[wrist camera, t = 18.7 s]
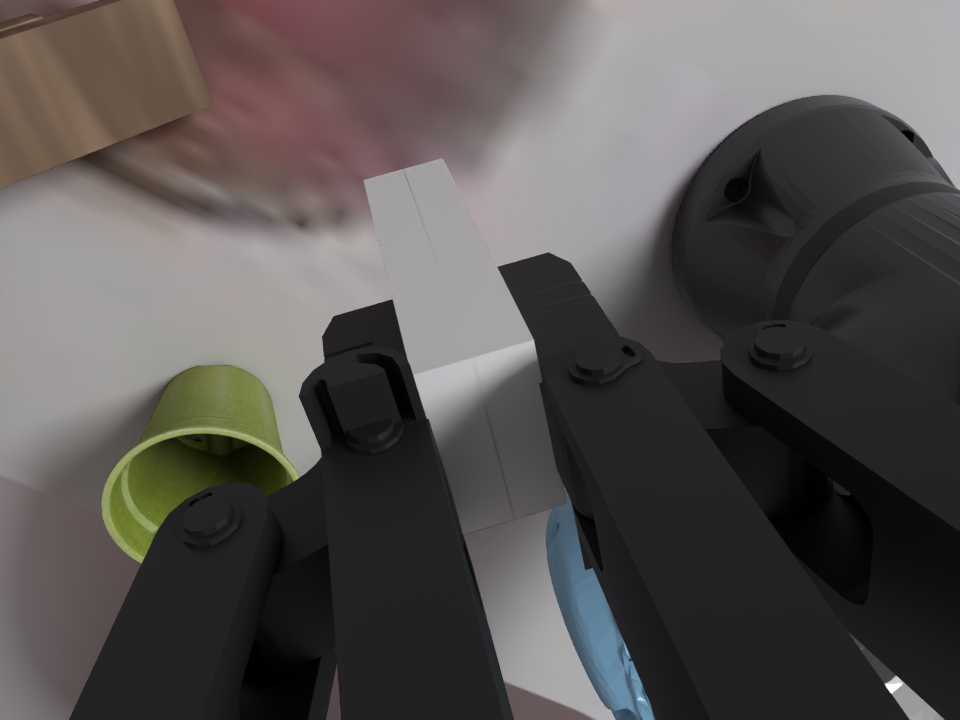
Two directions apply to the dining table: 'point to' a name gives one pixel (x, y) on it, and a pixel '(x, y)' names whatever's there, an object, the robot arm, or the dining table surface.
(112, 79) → the domino
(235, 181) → the dining table surface
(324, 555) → the robot arm
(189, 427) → the plant pot
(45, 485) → the dining table surface
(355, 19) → the dining table surface
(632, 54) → the dining table surface
